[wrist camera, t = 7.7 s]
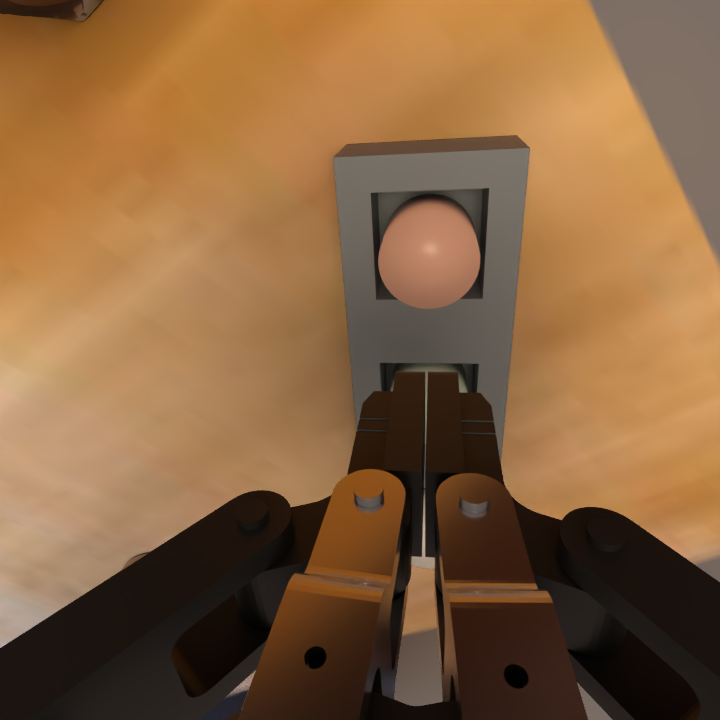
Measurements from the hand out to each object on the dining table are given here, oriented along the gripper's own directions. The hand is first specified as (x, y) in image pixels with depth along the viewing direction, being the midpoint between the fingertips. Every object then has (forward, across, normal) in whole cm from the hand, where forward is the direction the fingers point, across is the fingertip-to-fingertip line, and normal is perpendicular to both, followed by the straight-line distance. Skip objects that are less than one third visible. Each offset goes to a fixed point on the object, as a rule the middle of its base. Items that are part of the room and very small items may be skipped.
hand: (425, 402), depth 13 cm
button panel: (+16, 0, +8) cm, 18 cm away
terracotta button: (+13, 0, 0) cm, 13 cm away
